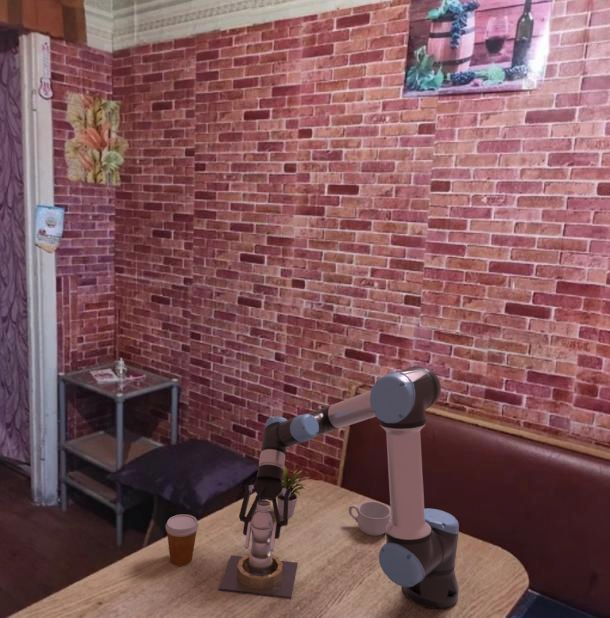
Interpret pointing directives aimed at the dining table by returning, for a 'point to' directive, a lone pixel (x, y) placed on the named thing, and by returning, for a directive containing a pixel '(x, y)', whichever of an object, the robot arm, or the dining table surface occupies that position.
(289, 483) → the house plant
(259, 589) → the collar stand
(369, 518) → the teacup
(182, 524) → the disposable coffee cup
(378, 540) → the dining table surface
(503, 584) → the dining table surface
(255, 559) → the plastic bottle
